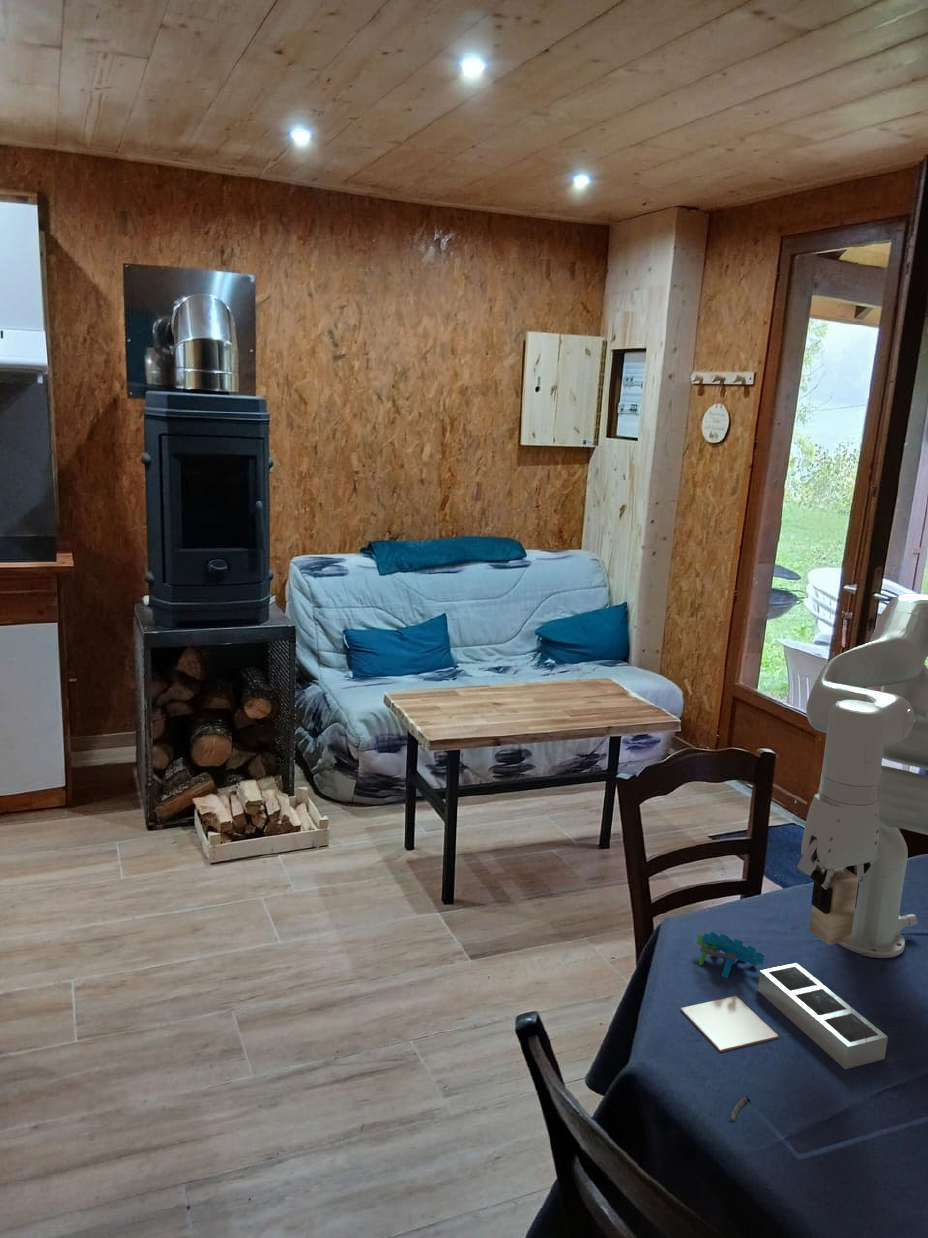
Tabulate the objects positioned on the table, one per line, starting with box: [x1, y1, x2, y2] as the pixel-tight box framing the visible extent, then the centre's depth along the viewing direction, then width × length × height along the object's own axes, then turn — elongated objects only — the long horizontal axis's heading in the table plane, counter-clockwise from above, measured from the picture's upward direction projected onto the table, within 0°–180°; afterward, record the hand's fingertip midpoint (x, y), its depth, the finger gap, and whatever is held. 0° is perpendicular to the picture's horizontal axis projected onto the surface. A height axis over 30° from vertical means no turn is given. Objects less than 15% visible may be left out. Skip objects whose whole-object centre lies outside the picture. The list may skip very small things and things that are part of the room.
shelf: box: [757, 962, 889, 1070], centre depth 139 cm, size 7×19×4 cm, turn 21°
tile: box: [680, 995, 779, 1053], centre depth 139 cm, size 10×10×1 cm
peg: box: [809, 867, 859, 946], centre depth 136 cm, size 4×4×10 cm
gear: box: [696, 931, 765, 979], centre depth 152 cm, size 11×6×10 cm
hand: (833, 905), depth 136 cm, fingers closed on peg, 4 cm apart
